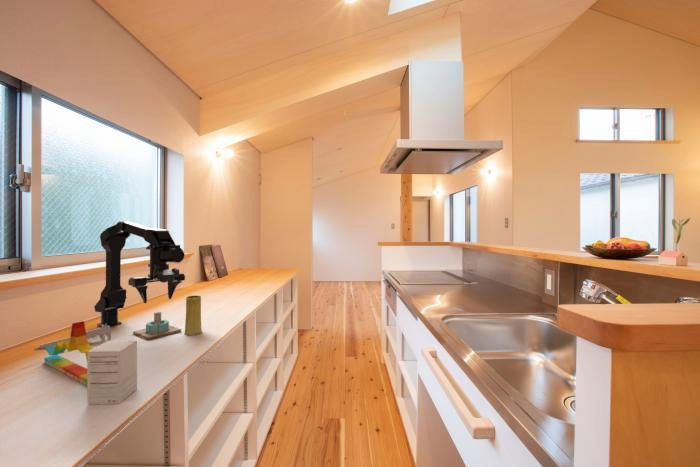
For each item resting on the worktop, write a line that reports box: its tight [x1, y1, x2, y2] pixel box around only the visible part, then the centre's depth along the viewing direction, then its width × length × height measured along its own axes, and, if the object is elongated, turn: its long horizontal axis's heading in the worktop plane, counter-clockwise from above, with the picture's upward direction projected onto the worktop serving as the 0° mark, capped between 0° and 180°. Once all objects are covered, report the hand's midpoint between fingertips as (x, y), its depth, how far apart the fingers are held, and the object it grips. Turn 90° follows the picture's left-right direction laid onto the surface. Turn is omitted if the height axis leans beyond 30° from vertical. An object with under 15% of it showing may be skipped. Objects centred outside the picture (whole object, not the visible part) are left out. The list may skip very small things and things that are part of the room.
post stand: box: [132, 311, 182, 341], centre depth 124 cm, size 12×12×8 cm
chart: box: [43, 320, 95, 387], centre depth 89 cm, size 30×3×15 cm, turn 61°
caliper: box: [34, 324, 112, 350], centre depth 111 cm, size 20×1×6 cm, turn 119°
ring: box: [145, 319, 170, 333], centre depth 124 cm, size 7×7×3 cm
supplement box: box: [86, 339, 138, 406], centre depth 77 cm, size 7×7×13 cm
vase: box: [184, 294, 203, 336], centre depth 125 cm, size 6×6×14 cm
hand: (158, 301), depth 125 cm, fingers open, 9 cm apart
